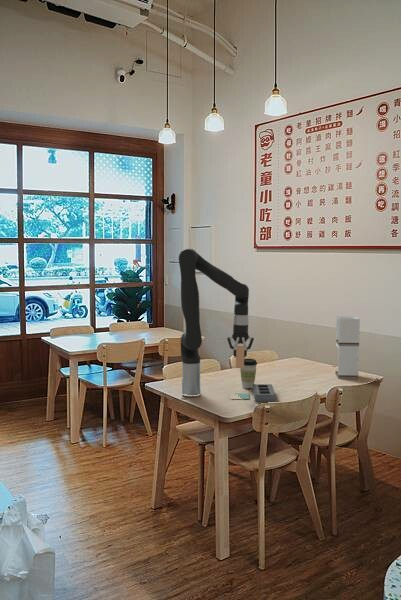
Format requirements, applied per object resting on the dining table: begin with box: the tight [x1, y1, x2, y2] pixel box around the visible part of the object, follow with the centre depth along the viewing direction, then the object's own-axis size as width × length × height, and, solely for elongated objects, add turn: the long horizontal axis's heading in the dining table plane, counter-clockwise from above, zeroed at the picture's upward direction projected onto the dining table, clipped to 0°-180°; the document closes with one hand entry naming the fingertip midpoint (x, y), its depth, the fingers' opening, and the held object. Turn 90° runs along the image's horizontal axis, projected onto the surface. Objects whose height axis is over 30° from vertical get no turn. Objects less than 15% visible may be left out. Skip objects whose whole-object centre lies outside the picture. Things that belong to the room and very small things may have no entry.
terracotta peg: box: [235, 344, 245, 369], centre depth 270 cm, size 4×4×11 cm
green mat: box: [234, 392, 250, 400], centre depth 272 cm, size 10×10×1 cm
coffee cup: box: [239, 358, 258, 389], centre depth 290 cm, size 10×10×15 cm
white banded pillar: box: [334, 315, 361, 380], centre depth 312 cm, size 11×11×35 cm
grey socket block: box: [252, 383, 277, 403], centre depth 271 cm, size 10×20×4 cm, turn 178°
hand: (239, 357), depth 270 cm, fingers closed on terracotta peg, 4 cm apart
